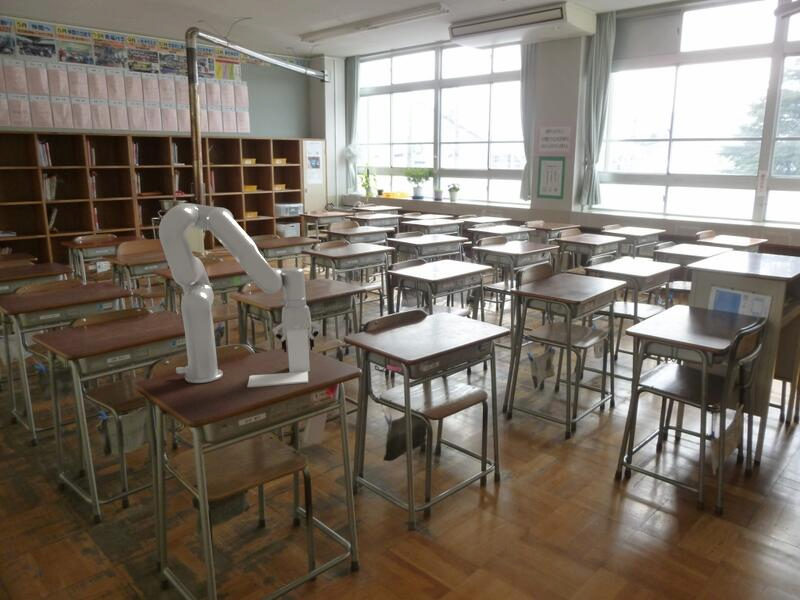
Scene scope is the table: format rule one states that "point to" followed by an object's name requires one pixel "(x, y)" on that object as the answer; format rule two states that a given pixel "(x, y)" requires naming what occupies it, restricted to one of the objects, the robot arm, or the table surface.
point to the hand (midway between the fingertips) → (298, 350)
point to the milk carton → (298, 350)
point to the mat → (278, 379)
